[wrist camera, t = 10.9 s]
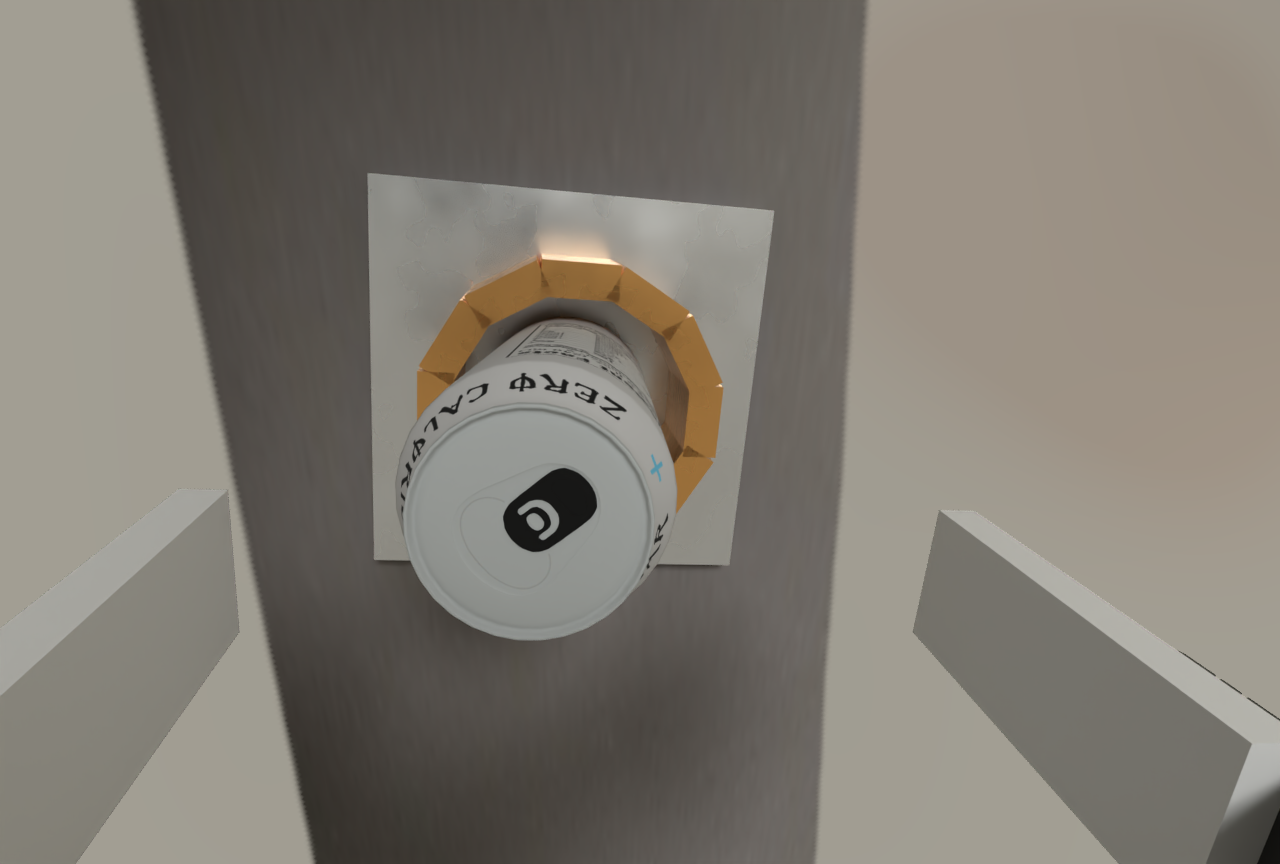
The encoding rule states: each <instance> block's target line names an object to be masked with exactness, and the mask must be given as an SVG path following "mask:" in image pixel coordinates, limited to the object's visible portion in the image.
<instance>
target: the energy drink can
mask: <svg viewBox="0 0 1280 864" xmlns="http://www.w3.org/2000/svg"><path fill="white" fill-rule="evenodd" d="M395 488H396V510H397V514H398V518H399V522H400V526H401V530H402V534H403V536H404V540H405V544H406V548H407V552H408V556H409V559H410V561H411V564H412V566H413V568H414V570H415V572H416V574H417V576H418V578H419V580H420V581H421V583H422V584H423V585H424V587H425V588H426V589H427V591H428V592H429V593H430V595H431V596H432V597H433V599H434V600H435V601H437V602H438V603H439V604H440V605H441V606H442V607H443V608H444V609H445V610H447V611H448V612H449V613H450V614H451V615H453V616H454V617H456V618H457V619H459V620H461V621H462V622H464V623H466V624H467V625H469V626H471V627H472V628H475V629H478V630H480V631H483V632H485V633H488V634H491V635H493V636H498V637H503V638H508V639H514V640H547V639H553V638H559V637H565V636H567V635H570V634H573V633H576V632H578V631H581V630H584V629H587V628H588V627H590V626H592V625H594V624H595V623H597V622H599V621H600V620H602V619H604V618H605V617H607V616H608V615H609V614H610V613H612V612H613V611H614V610H615V609H616V608H617V607H618V606H620V605H621V604H622V603H623V602H624V601H625V600H626V598H627V597H628V596H629V595H630V594H631V593H632V592H633V591H634V590H635V589H636V588H638V587H639V586H640V585H641V584H642V583H643V582H644V581H645V579H646V578H647V577H648V575H649V574H650V573H651V571H652V570H653V569H654V568H655V566H656V565H657V564H658V562H659V560H660V558H661V556H662V554H663V552H664V550H665V548H666V546H667V544H668V542H669V540H670V536H671V532H672V528H673V525H674V521H675V517H676V506H677V483H676V477H675V470H674V464H673V460H672V458H671V455H670V452H669V449H668V446H667V443H666V440H665V437H664V435H663V432H662V429H661V426H660V423H659V420H658V417H657V414H656V412H655V409H654V406H653V403H652V400H651V397H650V394H649V391H648V389H647V386H646V383H645V380H644V377H643V374H642V372H641V369H640V366H639V364H638V361H637V360H636V358H635V356H634V355H633V353H632V352H631V350H630V348H629V347H628V346H627V345H626V344H625V343H624V342H623V341H622V340H621V339H620V338H619V337H618V336H617V335H616V334H614V333H613V332H611V331H610V330H609V329H607V328H606V327H604V326H601V325H599V324H597V323H595V322H593V321H590V320H585V319H581V318H577V317H555V318H549V319H544V320H541V321H538V322H536V323H533V324H530V325H528V326H527V327H525V328H524V329H522V330H520V331H519V332H517V333H516V334H514V335H513V336H512V337H511V338H509V339H508V340H507V341H506V342H504V343H503V344H502V345H501V346H499V347H498V348H497V349H496V350H494V351H493V352H492V353H490V354H489V355H488V356H487V357H485V358H484V359H483V360H482V361H480V362H479V363H478V364H477V365H475V366H474V367H473V368H472V369H470V370H469V371H468V372H467V373H465V374H464V375H463V376H461V377H460V378H459V379H458V380H456V381H455V382H454V383H453V384H451V385H450V386H449V387H448V388H446V389H445V390H444V391H443V392H442V393H441V394H440V395H439V396H438V397H437V398H436V399H435V400H434V401H433V402H432V403H431V404H430V405H429V406H428V407H427V408H426V409H425V410H424V411H423V413H422V414H421V416H420V417H419V419H418V420H417V422H416V423H415V425H414V426H413V428H412V429H411V431H410V432H409V435H408V437H407V440H406V442H405V445H404V447H403V450H402V452H401V455H400V459H399V464H398V470H397V476H396V482H395Z"/></svg>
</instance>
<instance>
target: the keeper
mask: <svg viewBox="0 0 1280 864" xmlns="http://www.w3.org/2000/svg"><path fill="white" fill-rule="evenodd" d="M773 217H774V211H772V210H761V209H750V208H740V207H729V206H718V205H707V204H697V203H686V202H675V201H664V200H653V199H643V198H632V197H621V196H610V195H600V194H589V193H578V192H567V191H556V190H546V189H535V188H524V187H513V186H503V185H492V184H481V183H470V182H459V181H449V180H438V179H427V178H416V177H406V176H395V175H384V174H373V173H368V229H369V287H370V344H371V402H372V460H373V518H374V560H410V559H409V556H408V552H407V548H406V544H405V540H404V536H403V534H402V530H401V526H400V522H399V518H398V514H397V510H396V488H395V482H396V476H397V470H398V464H399V459H400V455H401V452H402V450H403V447H404V445H405V442H406V440H407V437H408V435H409V432H410V431H411V429H412V428H413V426H414V425H415V423H416V422H417V420H418V419H419V417H420V416H421V414H422V413H423V411H424V410H425V409H426V408H427V407H428V406H429V405H430V404H431V403H432V402H433V401H434V400H435V399H436V398H437V397H438V396H439V395H440V394H441V393H442V392H443V391H444V390H445V389H446V388H448V387H449V386H450V385H451V384H453V383H454V382H455V381H456V380H458V379H459V378H460V377H461V376H463V375H464V374H465V373H467V372H468V371H469V370H470V369H472V368H473V367H474V366H475V365H477V364H478V363H479V362H480V361H482V360H483V359H484V358H485V357H487V356H488V355H489V354H490V353H492V352H493V351H494V350H496V349H497V348H498V347H499V346H501V345H502V344H503V343H504V342H506V341H507V340H508V339H509V338H511V337H512V336H513V335H514V334H516V333H517V332H519V331H520V330H522V329H524V328H525V327H527V326H528V325H530V324H533V323H536V322H538V321H541V320H544V319H549V318H555V317H577V318H581V319H585V320H590V321H593V322H595V323H597V324H599V325H601V326H604V327H606V328H607V329H609V330H610V331H611V332H613V333H614V334H616V335H617V336H618V337H619V338H620V339H621V340H622V341H623V342H624V343H625V344H626V345H627V346H628V347H629V348H630V350H631V352H632V353H633V355H634V356H635V358H636V360H637V361H638V364H639V366H640V369H641V372H642V374H643V377H644V380H645V383H646V386H647V389H648V391H649V394H650V397H651V400H652V403H653V406H654V409H655V412H656V414H657V417H658V420H659V423H660V426H661V429H662V432H663V435H664V437H665V440H666V443H667V446H668V449H669V452H670V455H671V458H672V460H673V464H674V470H675V477H676V483H677V506H676V517H675V521H674V525H673V528H672V532H671V536H670V540H669V542H668V544H667V546H666V548H665V550H664V552H663V554H662V556H661V558H660V560H659V562H658V564H685V565H729V563H730V555H731V547H732V539H733V532H734V524H735V516H736V508H737V500H738V492H739V484H740V477H741V469H742V461H743V453H744V445H745V437H746V429H747V421H748V414H749V406H750V398H751V390H752V382H753V374H754V366H755V358H756V351H757V343H758V335H759V327H760V319H761V311H762V303H763V295H764V288H765V280H766V272H767V264H768V256H769V248H770V240H771V233H772V225H773Z"/></svg>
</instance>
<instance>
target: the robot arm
mask: <svg viewBox="0 0 1280 864" xmlns="http://www.w3.org/2000/svg"><path fill="white" fill-rule="evenodd" d="M228 498H229V497H228V490H211V489H178V490H177V491H175V492H174V493H173V494H172V495H170V496H169V497H168V498H167V499H165V500H164V501H163V502H161V503H160V504H159V505H157V506H156V507H155V508H154V509H152V510H151V511H150V512H149V513H147V514H146V515H145V516H143V517H142V518H141V519H140V520H138V521H137V522H136V523H134V524H133V525H132V526H131V527H129V528H128V529H127V530H125V531H124V532H123V533H122V534H120V535H119V536H118V537H116V538H115V539H114V540H113V541H111V542H110V543H109V544H108V545H106V546H105V547H104V548H102V549H101V550H100V551H98V552H97V553H96V554H95V555H93V556H92V557H91V558H89V559H88V560H87V561H86V562H84V563H83V564H82V565H80V566H79V567H78V568H77V569H75V570H74V571H73V572H71V573H70V574H69V575H68V576H66V577H65V578H64V579H62V580H61V581H60V582H59V583H57V584H56V585H55V586H53V587H52V588H51V589H50V590H48V591H47V592H46V593H44V594H43V595H42V596H41V597H39V598H38V599H37V600H35V601H34V602H33V603H32V604H30V605H29V606H28V607H26V608H25V609H24V610H23V611H21V612H20V613H19V614H17V615H16V616H15V617H14V618H12V619H11V620H10V621H8V622H7V623H6V624H5V625H3V626H2V627H1V628H0V864H76V862H77V861H78V860H79V858H80V857H81V856H82V854H83V853H84V851H85V850H86V848H87V847H88V846H89V844H90V843H91V841H92V840H93V839H94V837H95V836H96V834H97V833H98V831H99V830H100V828H101V827H102V826H103V824H104V823H105V822H106V820H107V819H108V817H109V816H110V814H111V813H112V812H113V810H114V809H115V807H116V806H117V805H118V803H119V802H120V800H121V799H122V797H123V796H124V795H125V793H126V792H127V790H128V789H129V788H130V786H131V785H132V783H133V782H134V780H135V779H136V778H137V776H138V775H139V773H140V772H141V771H142V769H143V768H144V766H145V765H146V764H147V762H148V761H149V759H150V758H151V756H152V755H153V754H154V752H155V751H156V749H157V748H158V747H159V745H160V744H161V742H162V741H163V739H164V738H165V737H166V735H167V734H168V732H169V731H170V729H171V728H172V727H173V725H174V724H175V722H176V721H177V720H178V718H179V717H180V715H181V714H182V712H183V711H184V710H185V708H186V707H187V705H188V704H189V703H190V701H191V700H192V698H193V697H194V696H195V694H196V693H197V691H198V690H199V688H200V687H201V685H202V684H203V683H204V681H205V680H206V679H207V677H208V676H209V674H210V673H211V671H212V670H213V669H214V667H215V666H216V664H217V663H218V662H219V660H220V659H221V657H222V656H223V654H224V653H225V652H226V650H227V649H228V647H229V646H230V645H231V643H232V642H233V640H234V639H235V637H236V636H237V635H238V633H239V621H238V609H237V596H236V584H235V572H234V559H233V547H232V535H231V523H230V511H229V499H228ZM913 633H914V634H915V635H916V636H917V637H918V639H919V640H920V641H921V642H922V643H923V644H924V645H925V646H926V648H927V649H928V650H929V651H930V652H931V653H932V654H933V655H934V657H935V658H936V659H937V660H938V661H939V662H940V663H941V664H942V665H943V667H944V668H945V669H946V670H947V671H948V672H949V673H950V674H951V676H952V677H953V678H954V679H955V680H956V681H957V682H958V684H960V686H961V687H962V688H963V689H964V690H965V691H966V692H967V694H968V695H969V696H970V697H971V698H972V699H973V700H974V702H975V703H976V704H977V705H978V706H979V707H980V708H981V709H982V711H983V712H984V713H985V714H986V715H987V716H988V717H989V718H990V719H991V721H992V722H993V723H994V724H995V725H996V726H997V727H998V729H999V730H1000V731H1001V732H1002V733H1003V734H1004V735H1005V736H1006V738H1007V739H1008V740H1009V741H1010V742H1011V743H1012V744H1013V745H1014V746H1015V748H1016V749H1017V750H1018V751H1019V752H1020V753H1021V754H1022V756H1023V757H1024V758H1025V759H1026V760H1027V761H1028V762H1029V763H1030V765H1031V766H1032V767H1033V768H1034V769H1035V770H1036V771H1037V772H1038V773H1039V775H1040V776H1041V777H1042V778H1043V779H1044V780H1045V781H1046V783H1047V784H1048V785H1049V786H1050V787H1051V788H1052V789H1053V790H1054V791H1055V793H1056V794H1057V795H1058V796H1059V797H1060V798H1061V799H1062V800H1063V802H1064V803H1065V804H1066V805H1067V806H1068V807H1069V808H1070V810H1071V811H1072V812H1073V813H1074V814H1075V815H1076V816H1077V817H1078V818H1079V820H1080V821H1081V822H1082V823H1083V824H1084V825H1085V826H1086V827H1087V829H1088V830H1089V831H1090V832H1091V833H1092V834H1093V835H1094V837H1095V838H1096V839H1097V840H1098V841H1099V842H1100V843H1101V844H1102V846H1103V847H1104V848H1105V849H1106V850H1107V851H1108V852H1109V853H1110V855H1111V856H1112V857H1113V858H1114V859H1115V860H1116V861H1117V862H1118V863H1119V864H1280V719H1279V718H1277V717H1276V716H1274V715H1273V714H1271V713H1270V712H1269V711H1267V710H1266V709H1264V708H1263V707H1261V706H1260V705H1258V704H1257V703H1255V702H1254V701H1253V700H1251V699H1250V698H1246V697H1244V696H1243V695H1242V693H1241V692H1239V691H1238V690H1237V689H1235V688H1234V687H1232V686H1231V685H1229V684H1228V683H1226V682H1225V681H1223V680H1222V679H1218V678H1216V677H1215V674H1213V673H1212V672H1210V671H1209V670H1207V669H1206V668H1204V667H1203V666H1202V665H1200V664H1199V663H1197V662H1195V661H1194V660H1193V659H1191V658H1190V657H1188V656H1187V655H1186V654H1184V653H1182V652H1180V651H1178V650H1176V649H1174V648H1173V647H1172V646H1170V645H1169V644H1167V643H1166V642H1164V641H1163V640H1161V639H1160V638H1158V637H1157V636H1155V635H1154V634H1153V633H1151V632H1150V631H1148V630H1147V629H1145V628H1144V627H1142V626H1141V625H1140V624H1138V623H1136V622H1135V621H1134V620H1132V619H1131V618H1129V617H1128V616H1127V615H1125V614H1124V613H1122V612H1121V611H1119V610H1118V609H1116V608H1115V607H1113V606H1112V605H1111V604H1109V603H1108V602H1106V601H1105V600H1103V599H1102V598H1100V597H1099V596H1097V595H1096V594H1095V593H1093V592H1092V591H1090V590H1089V589H1087V588H1086V587H1084V586H1083V585H1081V584H1080V583H1079V582H1077V581H1076V580H1074V579H1073V578H1071V577H1070V576H1068V575H1067V574H1065V573H1064V572H1063V571H1061V570H1059V569H1058V568H1057V567H1055V566H1054V565H1052V564H1051V563H1050V562H1048V561H1047V560H1045V559H1043V558H1042V557H1041V556H1039V555H1038V554H1036V553H1035V552H1034V551H1032V550H1031V549H1029V548H1028V547H1026V546H1025V545H1023V544H1022V543H1020V542H1019V541H1018V540H1016V539H1015V538H1013V537H1012V536H1010V535H1009V534H1007V533H1006V532H1005V531H1003V530H1002V529H1000V528H999V527H997V526H996V525H994V524H993V523H991V522H990V521H989V520H987V519H986V518H984V517H983V516H981V515H980V514H978V513H977V512H975V511H960V510H939V514H938V518H937V522H936V527H935V532H934V537H933V541H932V546H931V550H930V555H929V559H928V564H927V569H926V573H925V578H924V582H923V587H922V592H921V596H920V601H919V605H918V610H917V615H916V620H915V624H914V629H913Z"/></svg>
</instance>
